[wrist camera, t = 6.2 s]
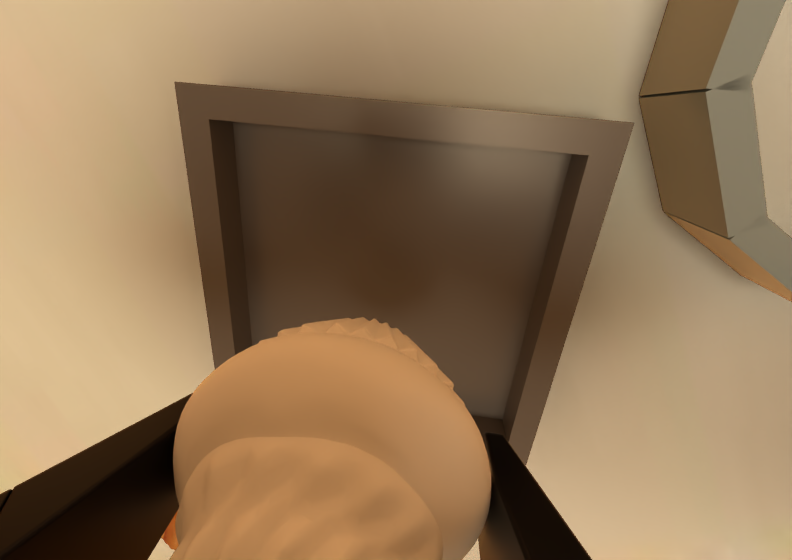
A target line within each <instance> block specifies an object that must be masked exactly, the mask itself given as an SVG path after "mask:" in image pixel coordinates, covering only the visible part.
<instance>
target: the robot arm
mask: <svg viewBox="0 0 792 560" xmlns="http://www.w3.org/2000/svg"><path fill="white" fill-rule="evenodd" d="M192 394H193V393H192ZM192 394H190V395H188V396H186V397H184V398H182V399H180V400H178V401H177V402H175V403H173V404H171V405H169V406H167V407H165V408H163V409H161V410H159V411H158V412H156V413H154V414H152V415H150V416H148V417H146V418H144V419H142V420H140V421H139V422H137V423H135V424H133V425H131V426H129V427H127V428H125V429H123V430H122V431H120V432H118V433H116V434H114V435H112V436H110V437H108V438H106V439H104V440H103V441H101V442H99V443H97V444H95V445H93V446H91V447H89V448H87V449H85V450H84V451H82V452H80V453H78V454H76V455H74V456H72V457H70V458H68V459H66V460H65V461H63V462H61V463H59V464H57V465H55V466H53V467H51V468H49V469H47V470H45V471H44V472H42V473H40V474H38V475H36V476H34V477H32V478H30V479H28V480H26V481H25V482H23V483H21V484H19V485H17V486H15V487H14V489H13V490H11V489H10V490H7V491H5V492H3V493H2V494H0V560H147V559H148V558H149V556H150V555H151V553H152V551H153V550H154V548H155V546H156V545H157V543H158V542H159V540H160V538H161V537H162V535H163V533H164V532H165V530H166V528H167V527H168V525H169V524H170V522H171V520H172V519H173V517H174V515H175V514H176V512H177V511H178V509H179V502H178V499H177V496H176V490H175V483H174V472H173V449H174V440H175V434H176V429H177V425H178V422H179V419H180V416H181V413H182V411H183V409H184V407H185V405H186V403H187V401H188V400H189V398H190V397H191V395H192ZM482 438H483V442H484V445H485V448H486V451H487V455H488V460H489V466H490V472H491V500H490V508H489V512H488V516H487V519H486V522H485V525H484V527H483V529H482V532H481V534H480V536H479V537H478V541H479V551H480V560H592V559H591V557H590V556H589V555H588V553H587V552H586V550H585V549H584V548H583V546H582V545H581V543H580V542H579V541H578V539H577V538H576V536H575V535H574V534H573V532H572V531H571V529H570V528H569V527H568V525H567V524H566V522H565V521H564V519H563V518H562V517H561V515H560V514H559V512H558V511H557V510H556V508H555V507H554V505H553V504H552V503H551V501H550V500H549V498H548V497H547V496H546V494H545V493H544V491H543V490H542V489H541V487H540V486H539V484H538V483H537V481H536V480H535V479H534V477H533V476H532V474H531V473H530V472H529V470H528V469H527V467H526V466H525V465H524V463H523V462H522V460H521V459H520V458H519V456H518V455H517V453H516V452H515V450H514V449H513V448H512V446H511V445H510V443H509V442H508V441H507V439H506V438H505V437H504V436H503V435H502V434H499V433H493V432H485V433H484V434H483V437H482Z"/></svg>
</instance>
